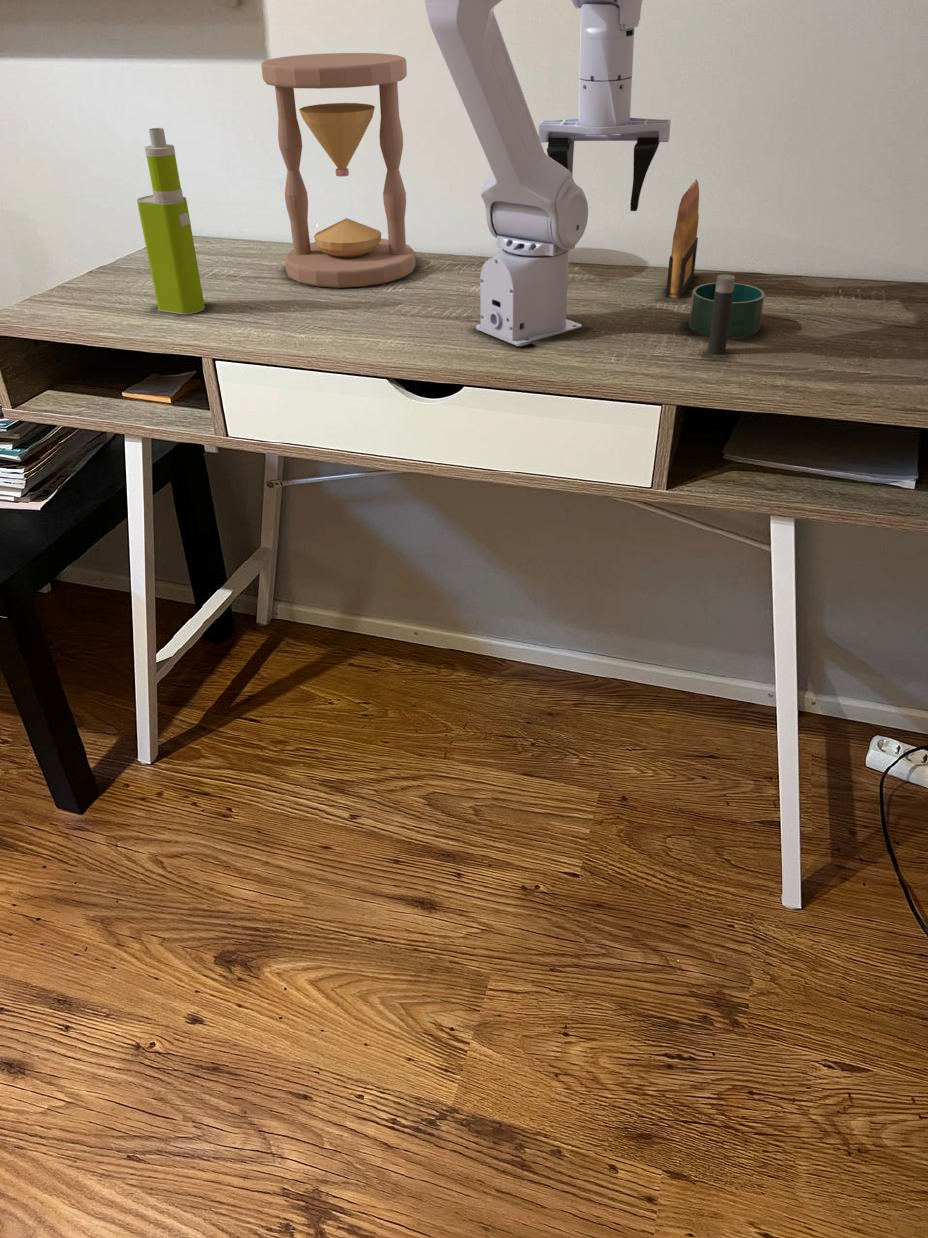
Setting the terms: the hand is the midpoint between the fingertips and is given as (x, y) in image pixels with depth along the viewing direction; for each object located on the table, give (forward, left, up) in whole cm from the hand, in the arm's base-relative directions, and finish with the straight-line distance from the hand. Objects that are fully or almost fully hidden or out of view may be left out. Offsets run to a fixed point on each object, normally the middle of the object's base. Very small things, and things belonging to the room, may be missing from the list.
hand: (601, 208), depth 114 cm
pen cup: (+3, -18, -11) cm, 21 cm away
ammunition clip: (+11, -4, -11) cm, 16 cm away
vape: (-41, +30, -11) cm, 52 cm away
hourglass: (-16, +31, -11) cm, 37 cm away
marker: (-4, -23, -11) cm, 26 cm away
